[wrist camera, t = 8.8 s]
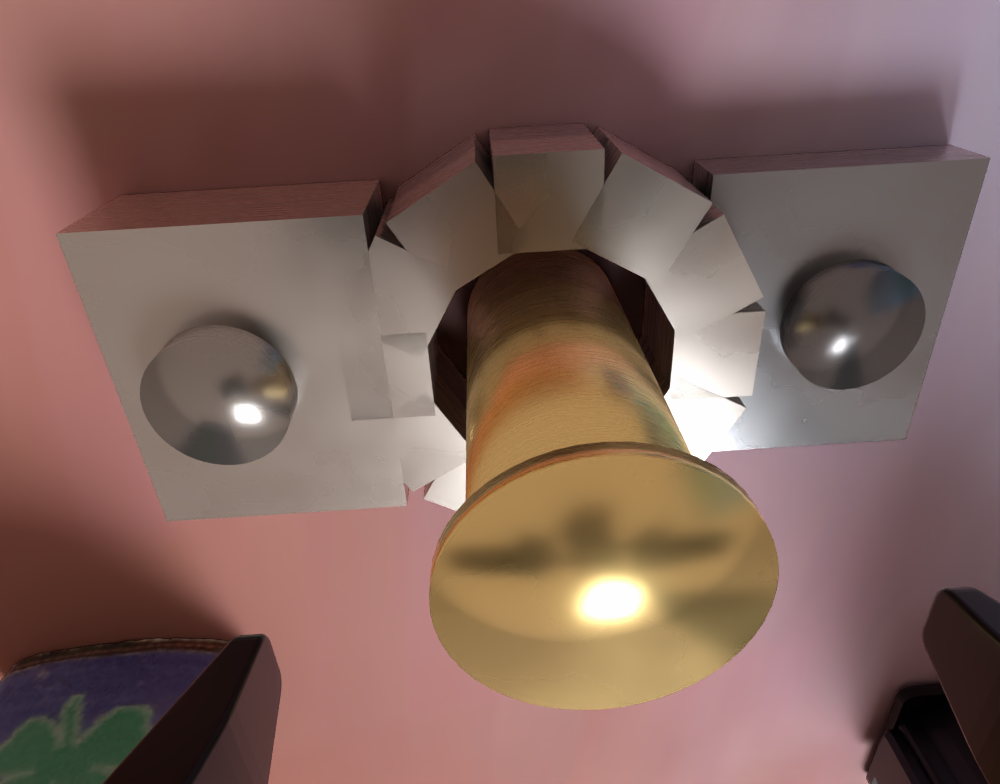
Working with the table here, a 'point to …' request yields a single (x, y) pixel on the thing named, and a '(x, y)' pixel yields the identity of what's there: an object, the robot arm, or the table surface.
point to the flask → (91, 706)
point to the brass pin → (586, 508)
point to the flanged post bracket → (472, 251)
